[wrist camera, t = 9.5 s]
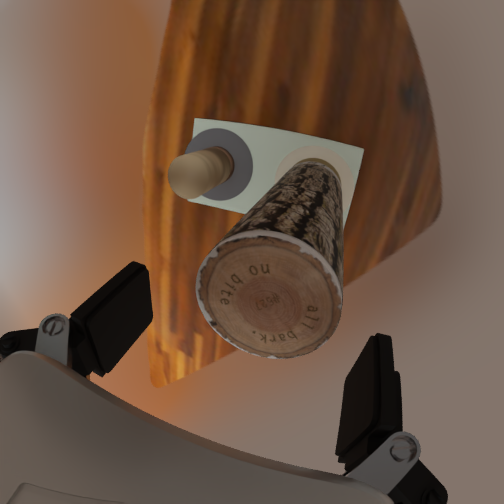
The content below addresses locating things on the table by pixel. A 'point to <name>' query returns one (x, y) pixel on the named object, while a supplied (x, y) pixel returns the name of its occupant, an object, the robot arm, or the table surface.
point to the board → (257, 159)
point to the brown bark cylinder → (280, 267)
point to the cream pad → (328, 156)
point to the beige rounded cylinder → (200, 171)
